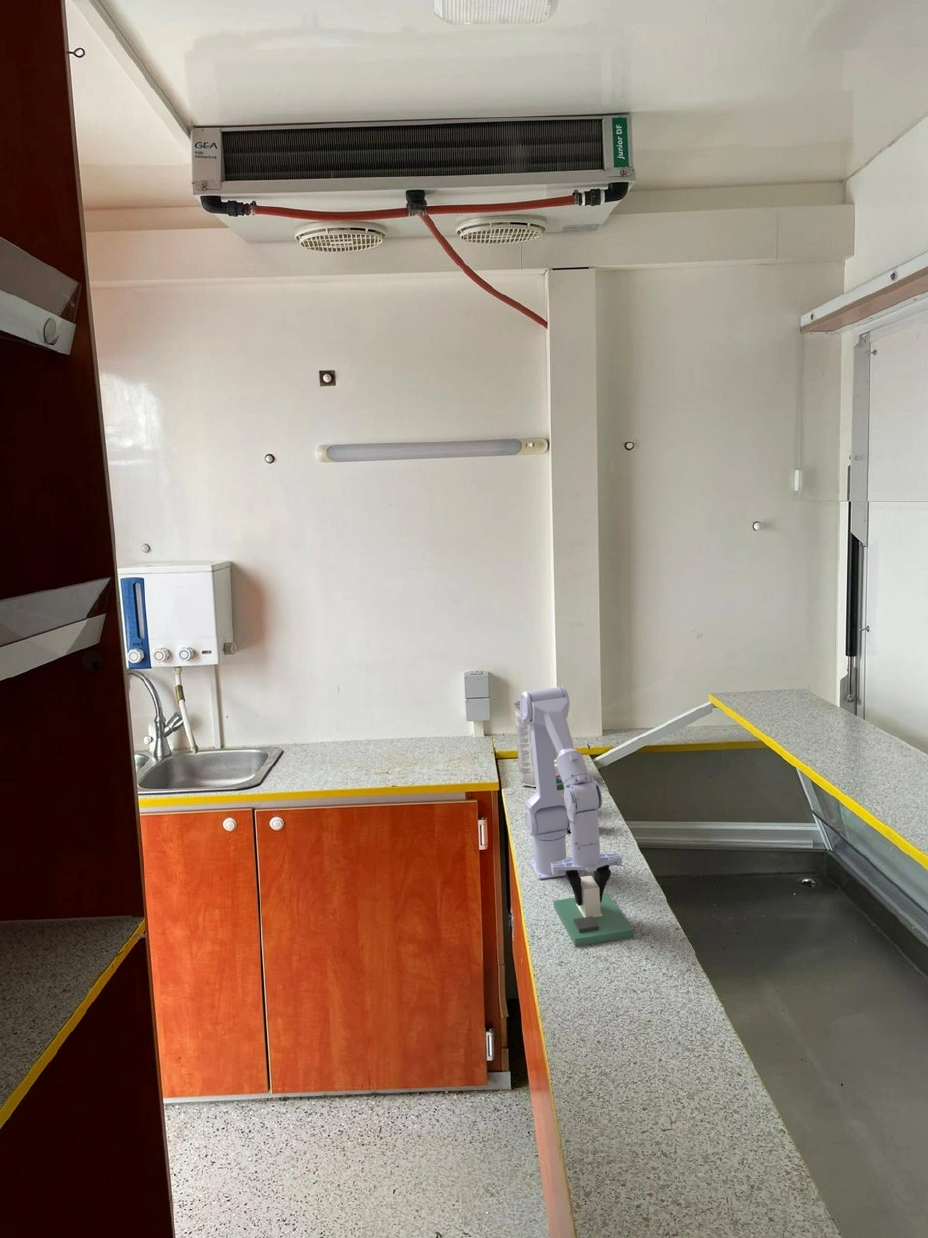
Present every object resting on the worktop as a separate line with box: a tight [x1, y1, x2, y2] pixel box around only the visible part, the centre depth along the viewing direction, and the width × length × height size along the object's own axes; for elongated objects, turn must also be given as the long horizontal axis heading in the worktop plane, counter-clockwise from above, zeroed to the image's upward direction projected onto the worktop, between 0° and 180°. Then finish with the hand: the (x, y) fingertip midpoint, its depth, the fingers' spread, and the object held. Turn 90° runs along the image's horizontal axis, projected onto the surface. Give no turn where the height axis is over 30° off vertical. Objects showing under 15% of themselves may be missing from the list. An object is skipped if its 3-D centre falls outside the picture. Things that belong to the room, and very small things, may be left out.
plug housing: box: [579, 875, 601, 917], centre depth 182 cm, size 7×3×6 cm, turn 9°
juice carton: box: [514, 700, 558, 785], centre depth 257 cm, size 9×10×27 cm
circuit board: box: [553, 892, 635, 947], centre depth 180 cm, size 16×12×3 cm
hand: (588, 902), depth 181 cm, fingers open, 4 cm apart
